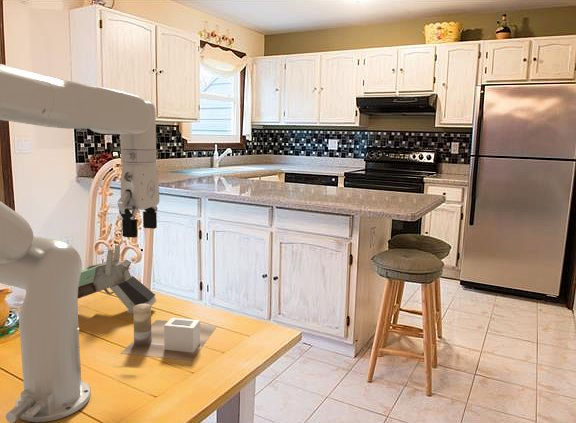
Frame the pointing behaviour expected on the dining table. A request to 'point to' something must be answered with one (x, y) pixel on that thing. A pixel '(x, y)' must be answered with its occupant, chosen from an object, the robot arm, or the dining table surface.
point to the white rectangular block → (182, 334)
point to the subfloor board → (157, 343)
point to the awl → (142, 324)
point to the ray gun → (115, 281)
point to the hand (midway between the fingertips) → (140, 232)
